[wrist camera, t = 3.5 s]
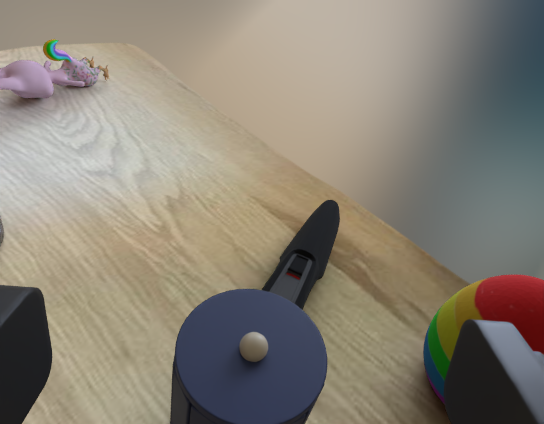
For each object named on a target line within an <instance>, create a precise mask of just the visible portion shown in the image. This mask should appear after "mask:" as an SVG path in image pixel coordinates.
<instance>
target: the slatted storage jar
mask: <svg viewBox="0 0 544 424" xmlns="http://www.w3.org/2000/svg"><path fill="white" fill-rule="evenodd" d="M326 373H327V354H326V348H325V345H324V341H323V339H322V336H321V334H320V332H319V330H318V329H317V327H316V325H315V324H314V322H313V321H312V320H311V319H310V317H309V316H308V315H307V314H306V313H305V312H304V311H303V310H302V309H300V308H299V307H298V306H297V305H295V304H294V303H292V302H291V301H289V300H287V299H285V298H283V297H281V296H279V295H276V294H274V293H270V292H267V291H262V290H256V289H237V290H231V291H226V292H223V293H220V294H217V295H215V296H212V297H211V298H209V299H207V300H205V301H204V302H202V303H201V304H200V305H198V306H197V307H196V308H195V309H194V310H193V311H192V312H191V313H190V314H189V316H188V317H187V318H186V320H185V321H184V323H183V325H182V326H181V329H180V331H179V334H178V337H177V341H176V347H175V356H174V362H173V373H172V395H171V418H170V424H305V423H306V421H307V418H308V416H309V414H310V412H311V410H312V408H313V406H314V404H315V402H316V400H317V398H318V396H319V394H320V392H321V390H322V388H323V386H324V382H325V379H326Z"/></svg>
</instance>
